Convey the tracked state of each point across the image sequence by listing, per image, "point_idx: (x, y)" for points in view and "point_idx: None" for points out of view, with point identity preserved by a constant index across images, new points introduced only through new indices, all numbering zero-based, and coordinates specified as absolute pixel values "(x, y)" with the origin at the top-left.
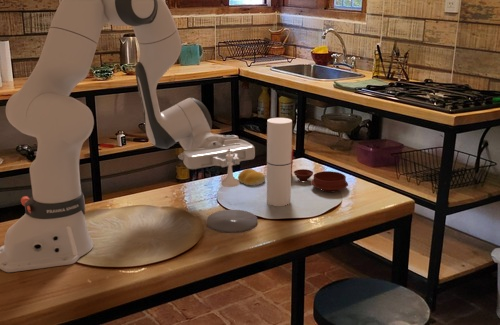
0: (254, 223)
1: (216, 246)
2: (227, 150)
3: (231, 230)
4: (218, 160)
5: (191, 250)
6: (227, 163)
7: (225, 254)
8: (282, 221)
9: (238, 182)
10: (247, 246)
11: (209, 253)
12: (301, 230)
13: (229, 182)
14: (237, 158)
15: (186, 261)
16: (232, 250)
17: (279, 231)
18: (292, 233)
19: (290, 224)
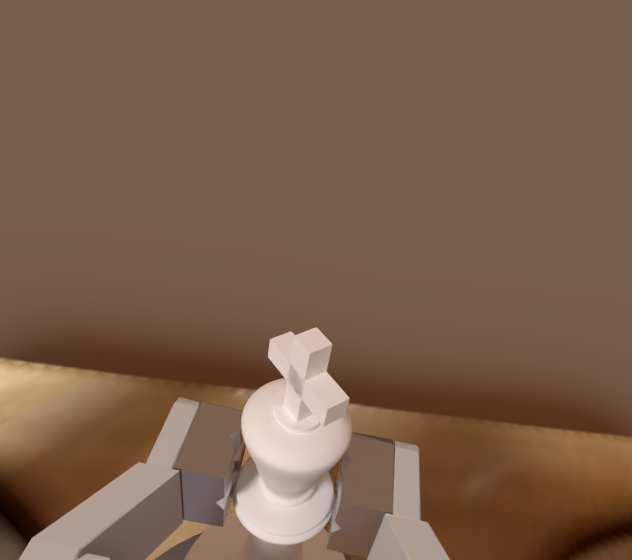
0: (193, 541)
1: (468, 491)
2: (326, 389)
3: (344, 555)
4: (433, 546)
5: (583, 528)
6: (314, 496)
7: (460, 420)
8: (41, 501)
9: (228, 514)
10: (357, 417)
11: (515, 461)
12: (87, 385)
13: (311, 539)
14: (198, 405)
15: (615, 464)
16: (423, 427)
17: (157, 432)
18: (138, 389)
19: (54, 451)
